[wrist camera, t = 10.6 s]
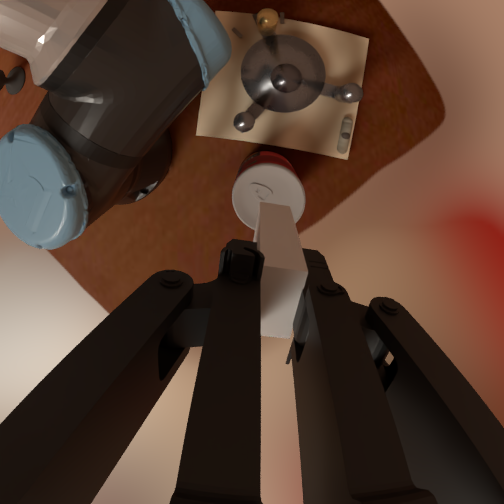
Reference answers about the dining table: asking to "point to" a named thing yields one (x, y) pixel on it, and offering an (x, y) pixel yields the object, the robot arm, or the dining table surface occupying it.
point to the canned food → (266, 186)
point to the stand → (293, 123)
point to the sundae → (13, 80)
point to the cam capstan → (285, 75)
